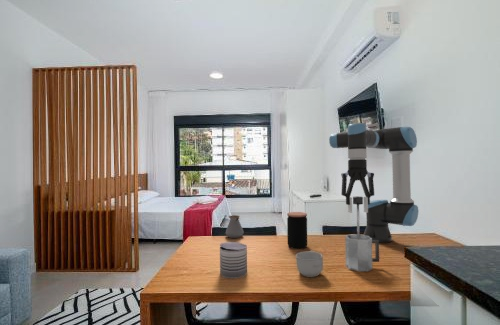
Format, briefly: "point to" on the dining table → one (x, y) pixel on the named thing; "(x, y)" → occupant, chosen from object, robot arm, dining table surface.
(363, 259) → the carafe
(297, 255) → the teacup
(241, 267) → the can
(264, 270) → the dining table surface
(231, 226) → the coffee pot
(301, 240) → the coffee jar
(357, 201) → the plunger
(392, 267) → the dining table surface
